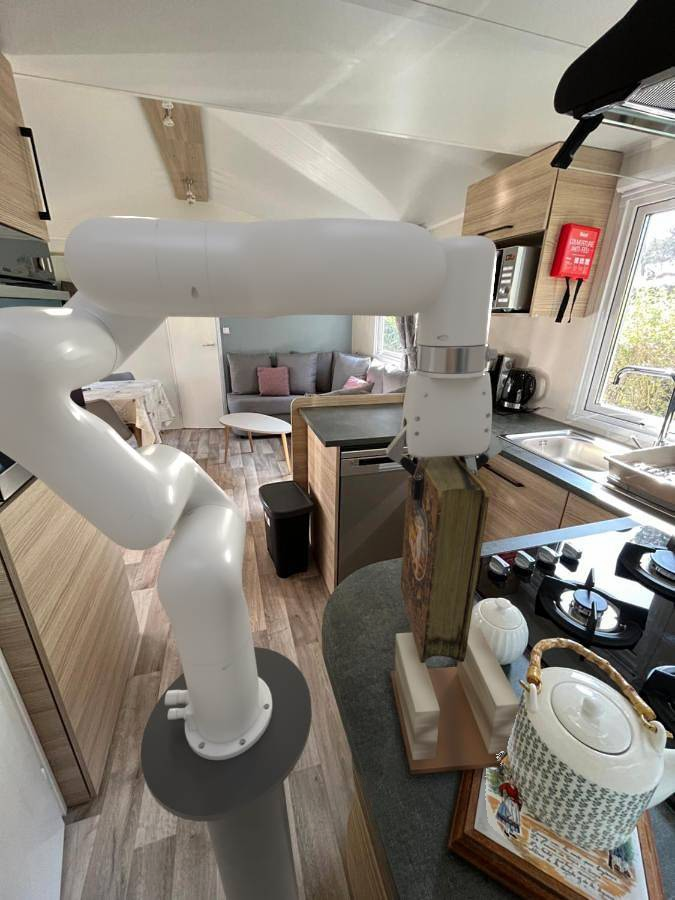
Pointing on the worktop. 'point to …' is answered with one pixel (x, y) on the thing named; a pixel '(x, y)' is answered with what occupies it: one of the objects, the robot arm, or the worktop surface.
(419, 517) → the book
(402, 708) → the book rack
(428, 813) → the worktop surface
